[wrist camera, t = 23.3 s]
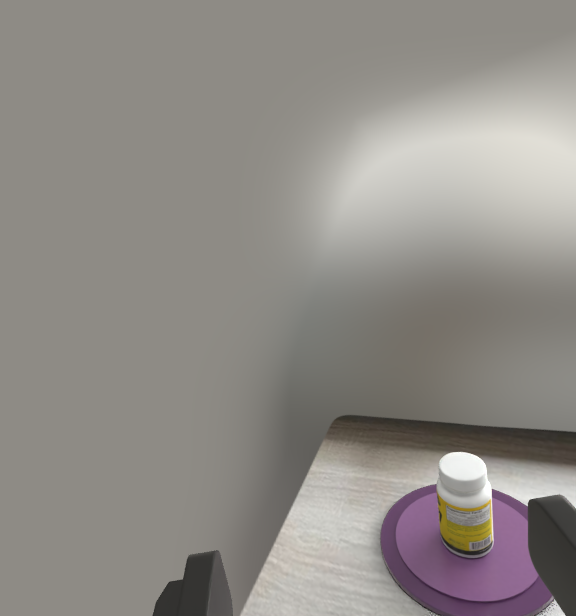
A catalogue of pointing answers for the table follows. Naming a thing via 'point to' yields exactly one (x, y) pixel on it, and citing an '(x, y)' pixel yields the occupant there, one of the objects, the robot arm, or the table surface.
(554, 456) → the table surface
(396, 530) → the plum dish
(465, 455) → the supplement bottle
